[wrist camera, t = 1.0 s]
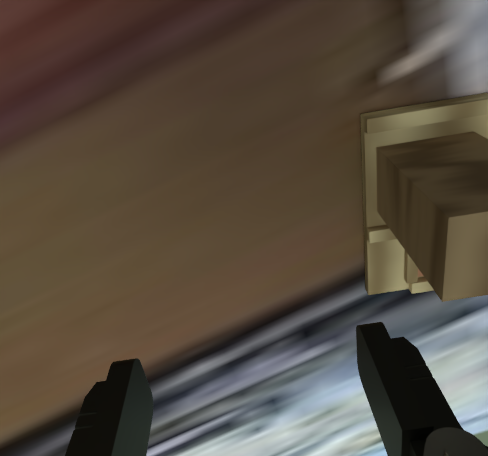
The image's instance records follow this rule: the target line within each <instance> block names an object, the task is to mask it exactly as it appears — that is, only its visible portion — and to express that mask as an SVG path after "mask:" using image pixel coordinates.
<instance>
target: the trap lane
mask: <svg viewBox="0 0 488 456" xmlns="http://www.w3.org/2000/svg"><path fill="white" fill-rule="evenodd" d="M360 116H361V150H362V184H363V219H364V253H365V288H366V291H367V293H368V295H372V294H378V293H385V292H391V291H398V290H404V289H409V290H410V292H411V293H412V294H413V293H420V292H426V291H433V290H434V289H433V288H432V287H431V285H430V284H429V283H428V281H427V280H426V278H425V277H424V276H423V274H422V273H421V271H420V270H419V269H418V267H417V266H416V265H415V263H414V262H413V260H412V259H411V258H410V256H409V255H408V253H407V252H406V251H405V249H404V248H403V247H402V245H401V244H400V242H399V241H398V240H397V238H396V237H395V236H394V234H393V233H392V231H391V230H390V229H389V227H388V226H387V224H386V223H385V222H384V220H383V219H382V218H381V216H380V215H379V213H378V212H377V165H376V147H381V146H387V145H393V144H399V143H405V142H411V141H417V140H423V139H429V138H435V137H441V136H448V135H454V134H460V133H466V132H472V131H474V132H476V133H478V134H479V135H481V136H483V137H485V138H487V139H488V93H482V94H477V95H471V96H465V97H459V98H453V99H447V100H441V101H435V102H429V103H423V104H417V105H411V106H405V107H399V108H393V109H387V110H381V111H375V112H369V113H363V114H360Z"/></svg>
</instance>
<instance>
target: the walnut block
mask: <svg viewBox="0 0 488 456" xmlns="http://www.w3.org/2000/svg"><path fill="white" fill-rule="evenodd" d="M376 165H377V212H378V213H379V215H380V216H381V218H382V219H383V220H384V222H385V223H386V224H387V226H388V227H389V229H390V230H391V231H392V233H393V234H394V236H395V237H396V238H397V240H398V241H399V242H400V244H401V245H402V247H403V248H404V249H405V251H406V252H407V253H408V255H409V256H410V258H411V259H412V260H413V262H414V263H415V265H416V266H417V267H418V269H419V270H420V271H421V273H422V274H423V276H424V277H425V278H426V280H427V281H428V283H429V284H430V285H431V287H432V288H433V289H434V291H435V292H436V294H437V295H438V296H439V298H440V299H441V300H442V302H443V301H449V300H456V299H463V298H469V297H476V296H482V295H488V139H487V138H485V137H483V136H481V135H479V134H478V133H476V132H474V131H472V132H466V133H460V134H454V135H448V136H441V137H435V138H429V139H423V140H417V141H411V142H405V143H399V144H393V145H387V146H381V147H376Z"/></svg>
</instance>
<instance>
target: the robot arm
mask: <svg viewBox="0 0 488 456" xmlns="http://www.w3.org/2000/svg"><path fill="white" fill-rule="evenodd" d="M356 338H357V363H358V370H359V375H360V379H361V382H362V385H363V388H364V391H365V393H366V396H367V399H368V402H369V404H370V407H371V410H372V413H373V416H374V418H375V421H376V424H377V427H378V430H379V432H380V435H381V438H382V441H383V443H384V446H385V449H386V452H387V455H388V456H488V447H487V446H485V445H484V444H483V443H482V442H481V441H480V440H479V439H477V438H476V437H475V436H474V435H472V434H470V433H469V432H466V431H464V430H463V428H462V427H461V426H460V424H459V423H458V421H457V419H456V417H455V415H454V414H453V412H452V410H451V408H450V406H449V405H448V403H447V401H446V399H445V397H444V395H443V394H442V392H441V390H440V388H439V386H438V385H437V383H436V381H435V379H434V378H433V377H432V374H431V372H430V370H429V368H428V366H426V363H425V361H424V359H423V357H422V356H421V354H420V352H419V350H418V348H416V347H415V346H414V345H413V344H411V343H410V342H409V341H408V340H407V339H405V338H404V337H399V338H392V339H391V338H390V336H389V334H388V332H387V330H386V328H385V326H384V324H383V323H382V322H377V323H370V324H363V325H357V327H356ZM152 416H153V397H152V392H151V389H150V387H149V384H148V381H147V378H146V376H145V373H144V370H143V368H142V365H141V362H140V360H139V359H130V360H123V361H116V362H113V363H112V364H111V366H110V369H109V373H108V376H107V379H106V381H102V382H96V384H95V385H94V386H93V388H92V389H91V390H90V391H89V393H88V394H87V395H86V397H85V399H84V402H83V405H82V408H81V411H80V417H78V419H77V422H76V425H75V430H74V431H73V434H72V437H71V440H70V443H69V446H68V449H67V452H66V455H65V456H146V453H147V447H148V441H149V435H150V428H151V422H152Z"/></svg>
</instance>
